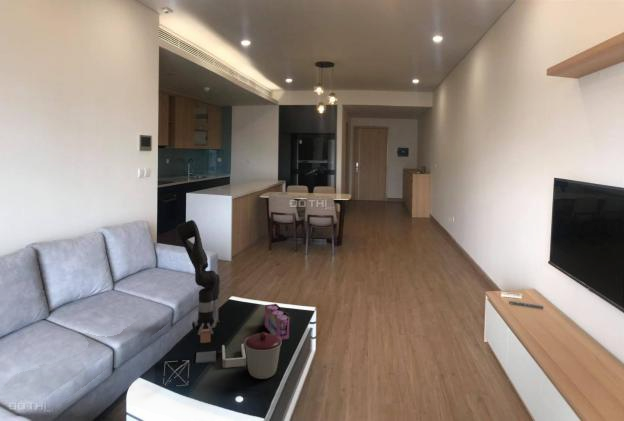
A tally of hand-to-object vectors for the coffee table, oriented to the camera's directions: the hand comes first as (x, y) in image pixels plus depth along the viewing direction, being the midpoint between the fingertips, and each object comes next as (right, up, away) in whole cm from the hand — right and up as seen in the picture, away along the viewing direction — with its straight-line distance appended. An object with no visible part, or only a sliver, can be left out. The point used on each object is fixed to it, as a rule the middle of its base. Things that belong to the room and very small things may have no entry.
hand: (205, 340), depth 208 cm
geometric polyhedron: (-8, -13, -22) cm, 26 cm away
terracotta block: (0, 0, +1) cm, 1 cm away
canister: (+31, -13, -12) cm, 35 cm away
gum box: (+34, -7, +35) cm, 49 cm away
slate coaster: (0, -10, +1) cm, 10 cm away
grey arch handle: (+14, -10, +2) cm, 17 cm away
